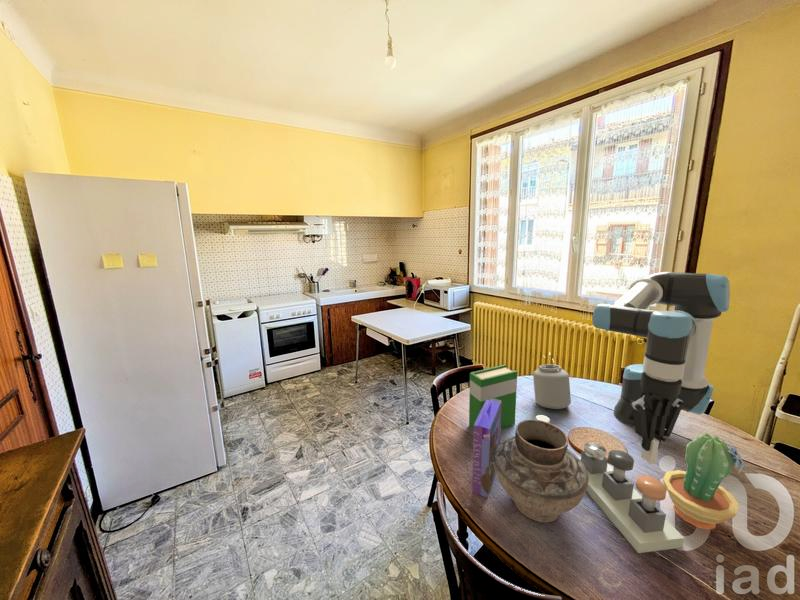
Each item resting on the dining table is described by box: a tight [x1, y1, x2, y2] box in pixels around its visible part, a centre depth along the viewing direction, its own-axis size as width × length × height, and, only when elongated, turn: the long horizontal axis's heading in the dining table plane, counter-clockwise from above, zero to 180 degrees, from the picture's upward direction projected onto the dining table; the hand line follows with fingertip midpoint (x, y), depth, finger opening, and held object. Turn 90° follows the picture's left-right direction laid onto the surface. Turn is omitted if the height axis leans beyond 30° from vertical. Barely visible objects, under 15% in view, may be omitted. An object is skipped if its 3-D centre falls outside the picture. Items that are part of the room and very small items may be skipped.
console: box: [577, 448, 685, 554], centre depth 93 cm, size 12×30×8 cm, turn 5°
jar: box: [532, 351, 572, 410], centre depth 143 cm, size 19×15×25 cm
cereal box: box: [471, 398, 502, 499], centre depth 102 cm, size 17×5×24 cm, turn 152°
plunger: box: [583, 441, 607, 460], centre depth 102 cm, size 6×6×7 cm
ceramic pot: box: [493, 419, 589, 523], centre depth 91 cm, size 25×25×24 cm
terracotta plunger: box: [635, 474, 668, 512], centre depth 81 cm, size 6×6×7 cm
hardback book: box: [468, 364, 518, 430], centre depth 129 cm, size 18×7×24 cm, turn 112°
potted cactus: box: [662, 433, 746, 531], centre depth 85 cm, size 16×15×25 cm
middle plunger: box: [607, 449, 635, 481], centre depth 91 cm, size 6×6×7 cm
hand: (648, 459), depth 81 cm, fingers closed
